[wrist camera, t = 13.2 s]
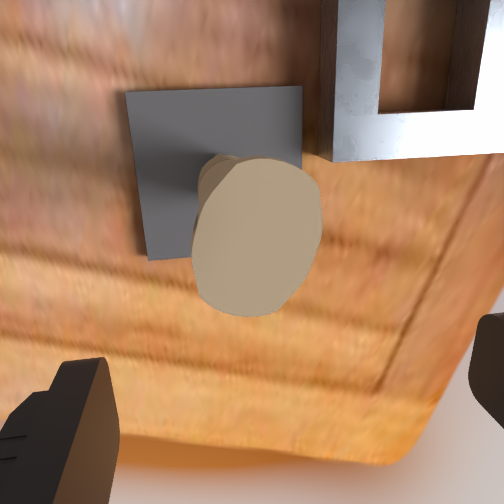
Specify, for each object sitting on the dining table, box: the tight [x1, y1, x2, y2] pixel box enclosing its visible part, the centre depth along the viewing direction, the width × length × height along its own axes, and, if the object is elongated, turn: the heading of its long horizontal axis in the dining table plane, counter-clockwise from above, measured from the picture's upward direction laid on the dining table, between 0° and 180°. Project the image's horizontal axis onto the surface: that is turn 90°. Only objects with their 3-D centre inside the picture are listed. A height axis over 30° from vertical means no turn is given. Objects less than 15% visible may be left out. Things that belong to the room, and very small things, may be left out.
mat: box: [125, 86, 303, 261], centre depth 30 cm, size 12×12×1 cm
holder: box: [318, 0, 504, 162], centre depth 28 cm, size 14×13×4 cm
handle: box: [191, 154, 322, 317], centre depth 23 cm, size 5×6×15 cm
